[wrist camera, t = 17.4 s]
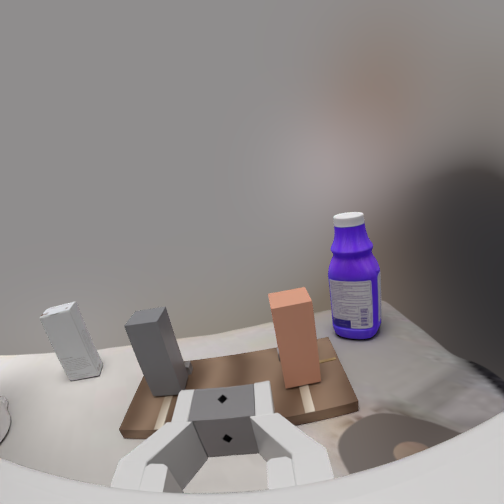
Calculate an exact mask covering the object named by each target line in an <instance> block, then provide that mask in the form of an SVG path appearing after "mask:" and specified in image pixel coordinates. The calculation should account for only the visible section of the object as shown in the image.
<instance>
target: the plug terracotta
mask: <svg viewBox="0 0 504 504" xmlns="http://www.w3.org/2000/svg"><path fill="white" fill-rule="evenodd" d="M269 301H270V306H271V312H272V317H273V323H274V328H275V333H276V339H277V344H278V350H279V355H280V360H281V366H282V371H283V377H284V382H285V388H291V387H296V386H301V385H306V384H311V383H316V382H320V381H321V374H320V364H319V355H318V346H317V337H316V329H315V321H314V313H313V305H312V300H311V298H310V296H309V294H308V292H307V290H306V289H305V287H302V288H297V289H291V290H286V291H281V292H276V293H271V294H269Z"/></svg>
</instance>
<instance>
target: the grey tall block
mask: <svg viewBox="0 0 504 504" xmlns="http://www.w3.org/2000/svg"><path fill="white" fill-rule="evenodd" d="M125 329H126V332H127V334H128V337H129V339H130V342H131V345H132V347H133V350H134V353H135V355H136V358H137V360H138V362H139V365H140V367H141V370H142V372H143V374H144V377H145V379H146V381H147V384H148V386H149V388H150V390H151V393H152V395H153V396H166V395H178V394H179V392H180V391H181V390H185V386H186V383H187V379H188V373H187V370H186V367H185V364H184V361H183V359H182V356H181V353H180V350H179V347H178V344H177V341H176V338H175V335H174V332H173V329H172V326H171V322H170V319H169V316H168V313H167V310H166V307H160V308H153V309H147V310H140V311H135V312H134V314H133V315H132V316H131V318H130V319H129V320H128V322H127V323H126V324H125Z"/></svg>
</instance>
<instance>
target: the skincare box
mask: <svg viewBox="0 0 504 504" xmlns="http://www.w3.org/2000/svg"><path fill="white" fill-rule="evenodd" d="M40 320H41V323H42V325H43V327H44V329H45V331H46V334H47V336H48V338H49V340H50V342H51V345H52V347H53V349H54V351H55V353H56V355H57V357H58V359H59V361H60V363H61V365H62V367H63V369H64V371H65V372H66V374H67V376H68V378H69V380H70V381H72V380H78V379H83V378H88V377H93V376H98V375H100V372H101V369H102V365H103V363H102V361H101V359H100V356H99V354H98V352H97V350H96V348H95V346H94V343H93V341H92V339H91V337H90V334H89V332H88V330H87V327H86V325H85V322H84V320H83V317H82V315H81V313H80V310H79V307H78V305H77V302H76V301H75V302H71V303H67V304H63V305H59V306H55V307H52V308H48V309H46V311H45V312H44V313H43V314H42V315H41V317H40Z"/></svg>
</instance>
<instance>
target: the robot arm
mask: <svg viewBox="0 0 504 504" xmlns="http://www.w3.org/2000/svg"><path fill="white" fill-rule="evenodd" d="M7 406H8V401H7V400H6V398H5V397H4V396H0V442H1V441H2V439H3V438H4V437H5V435H6V433H7V431H8V429H9V426H10V415H9V413H8V411H7ZM257 453H259V454H260V455H261V456H262V457H263V459H264V460H265V461H266V462H267V482H268V490H258V491H247V492H232V493H184V492H183V491H182V490H183V489H184V488H185V487H186V485H187V484H188V483H189V482H190V481H191V479H192V478H193V477H194V476H195V474H196V473H197V472H198V471H199V469H200V468H201V467H202V466H203V464H204V463H205V462H206V461H207V459H208V457H220V456H231V455H245V454H257ZM0 504H504V411H503V412H501V413H500V414H498V415H496V416H494V417H493V418H491V419H489V420H487V421H485V422H484V423H482V424H480V425H478V426H476V427H474V428H472V429H470V430H468V431H466V432H464V433H462V434H460V435H458V436H456V437H454V438H452V439H450V440H447V441H445V442H443V443H441V444H439V445H436V446H434V447H431V448H429V449H426V450H424V451H421V452H419V453H416V454H413V455H411V456H408V457H405V458H402V459H400V460H397V461H394V462H391V463H388V464H385V465H382V466H378V467H375V468H372V469H368V470H365V471H361V472H357V473H354V474H350V475H346V476H342V477H337V478H334V476H333V472H332V468H331V465H330V461H329V457H328V454H327V450H326V448H325V447H323V446H322V445H321V444H319V443H318V442H316V441H315V440H314V439H312V438H311V437H310V436H308V435H307V434H305V433H304V432H303V431H301V430H300V429H299V428H297V427H296V426H295V425H293V424H292V423H291V422H289V421H288V420H287V419H286V418H284V417H283V416H282V415H280V414H279V413H275V408H274V402H273V396H272V390H271V384H270V381H264V382H258V383H254V384H247V385H239V386H231V387H220V388H206V389H195V390H194V389H193V390H181V391H180V392H179V394H178V398H177V402H176V405H175V409H174V413H173V417H172V421H171V422H167V423H166V424H164V425H163V426H162V427H161V428H160V429H158V430H157V431H156V432H155V433H153V434H152V435H151V436H150V437H148V438H147V439H146V440H145V441H143V442H142V443H141V444H140V445H138V446H137V447H136V448H134V449H133V450H132V451H131V452H129V453H128V454H127V455H125V456H124V457H123V458H122V459H120V460H119V462H118V465H117V468H116V471H115V473H114V476H113V479H112V482H111V484H110V487H109V486H103V485H97V484H91V483H86V482H81V481H77V480H72V479H68V478H63V477H59V476H56V475H52V474H48V473H44V472H41V471H38V470H34V469H31V468H28V467H25V466H22V465H19V464H16V463H13V462H10V461H7V460H5V459H2V458H0Z"/></svg>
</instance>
